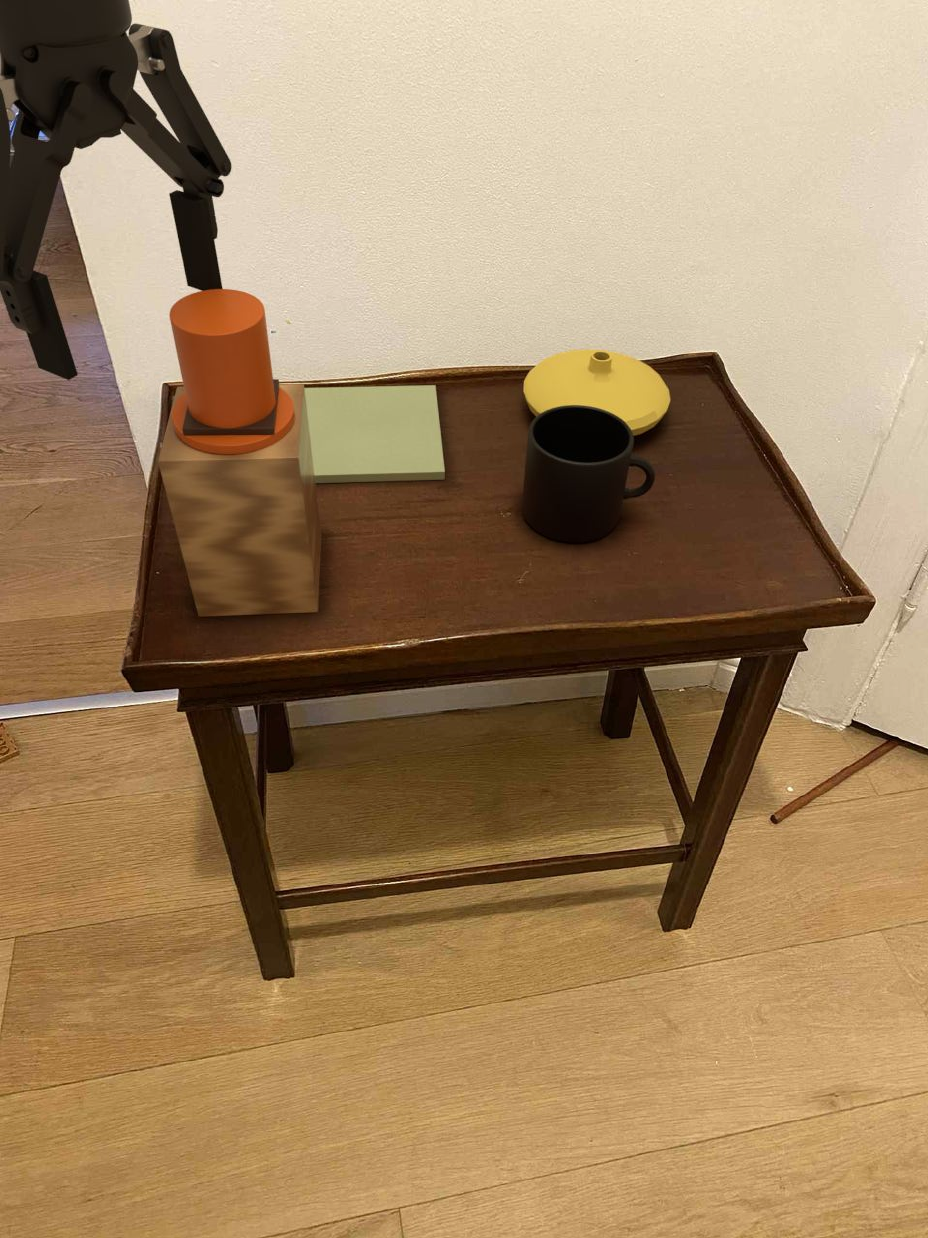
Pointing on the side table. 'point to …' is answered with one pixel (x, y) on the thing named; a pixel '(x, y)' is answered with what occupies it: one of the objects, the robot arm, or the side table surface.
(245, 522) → the block
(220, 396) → the hat
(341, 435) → the mat
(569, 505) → the mug
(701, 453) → the side table surface
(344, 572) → the side table surface
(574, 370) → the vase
